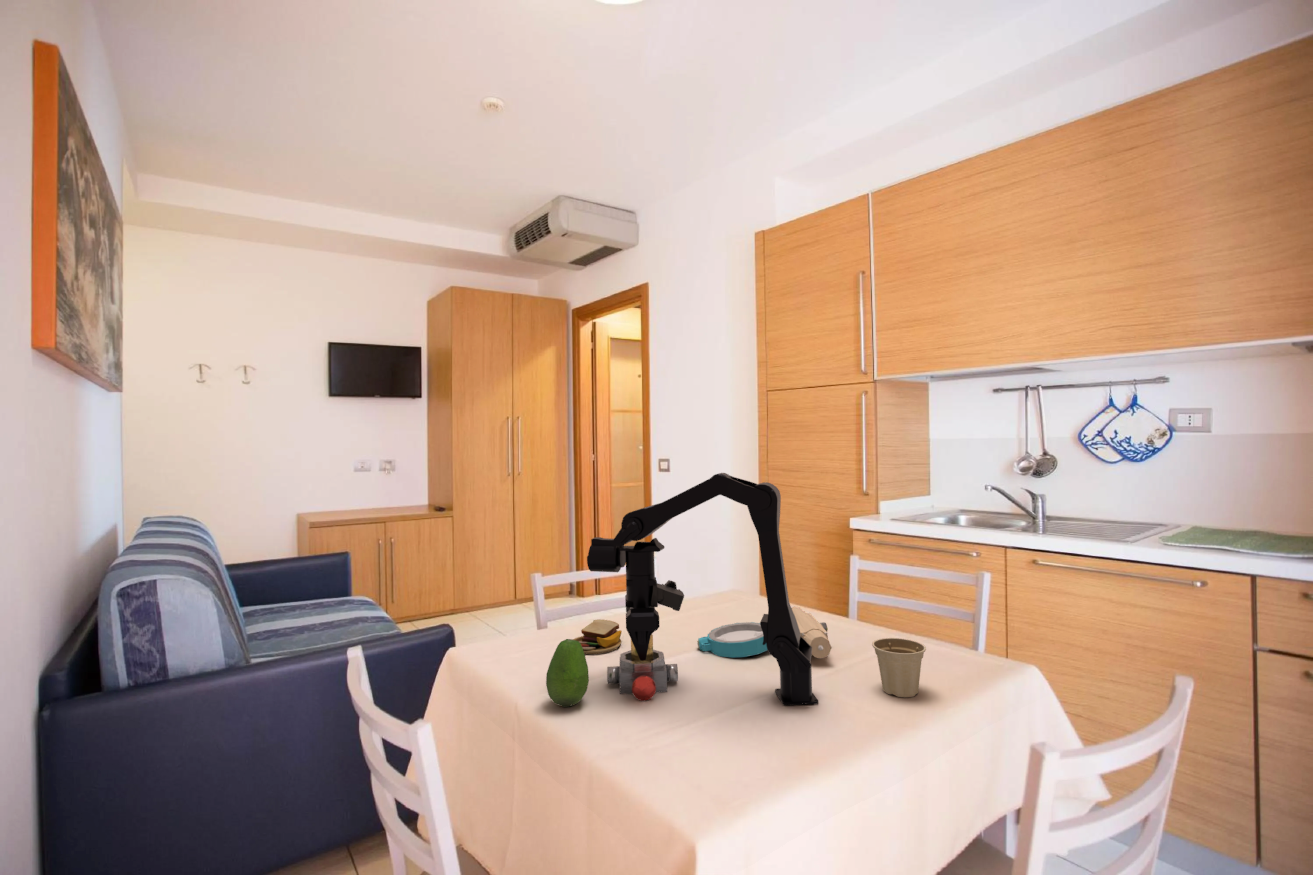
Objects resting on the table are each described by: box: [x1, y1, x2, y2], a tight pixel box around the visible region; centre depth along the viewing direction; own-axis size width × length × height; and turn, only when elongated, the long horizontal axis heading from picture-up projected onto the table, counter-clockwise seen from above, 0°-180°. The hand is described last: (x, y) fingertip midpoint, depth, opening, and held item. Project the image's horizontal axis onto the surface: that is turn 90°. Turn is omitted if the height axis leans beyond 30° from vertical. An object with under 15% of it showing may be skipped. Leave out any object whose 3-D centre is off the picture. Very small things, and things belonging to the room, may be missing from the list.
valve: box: [606, 649, 679, 702], centre depth 121 cm, size 13×14×6 cm
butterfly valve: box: [696, 606, 832, 659], centre depth 142 cm, size 27×7×30 cm
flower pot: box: [871, 637, 927, 698], centre depth 116 cm, size 9×9×9 cm
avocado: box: [545, 638, 590, 707], centre depth 114 cm, size 8×8×12 cm
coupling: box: [630, 633, 654, 662], centre depth 122 cm, size 4×4×6 cm
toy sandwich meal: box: [573, 618, 623, 655], centre depth 147 cm, size 12×14×5 cm
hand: (642, 651), depth 122 cm, fingers open, 9 cm apart
